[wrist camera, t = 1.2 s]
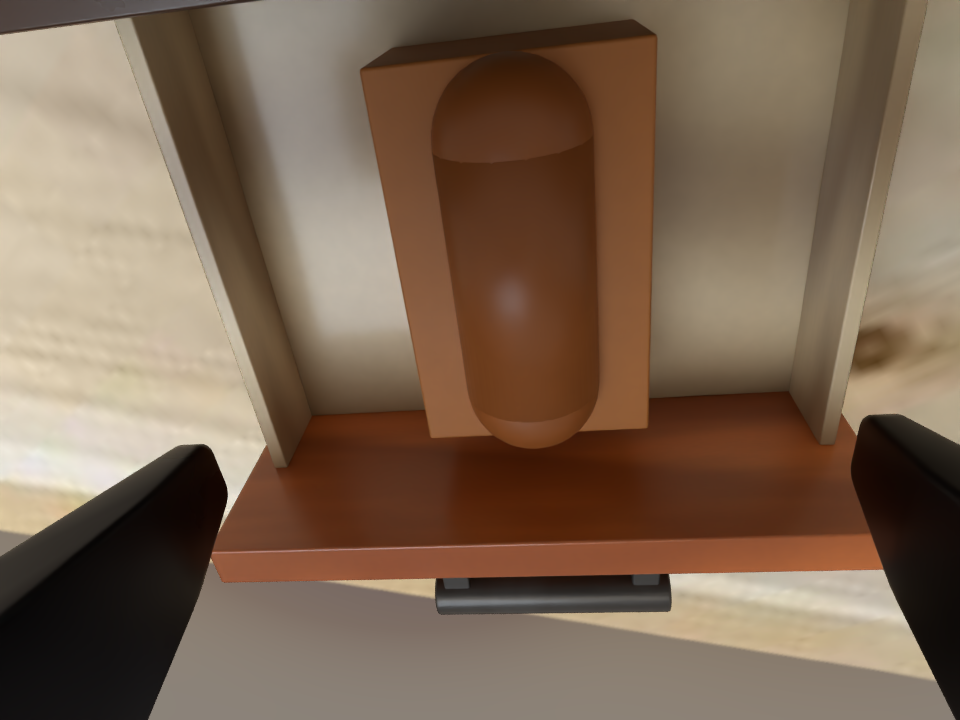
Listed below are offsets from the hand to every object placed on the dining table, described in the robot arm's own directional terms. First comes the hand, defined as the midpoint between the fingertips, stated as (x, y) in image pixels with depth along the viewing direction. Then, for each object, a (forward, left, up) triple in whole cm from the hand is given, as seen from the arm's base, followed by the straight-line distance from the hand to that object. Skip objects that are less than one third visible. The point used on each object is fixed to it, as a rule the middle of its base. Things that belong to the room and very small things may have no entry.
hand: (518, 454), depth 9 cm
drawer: (-1, 0, -10) cm, 10 cm away
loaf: (0, 0, -10) cm, 10 cm away
